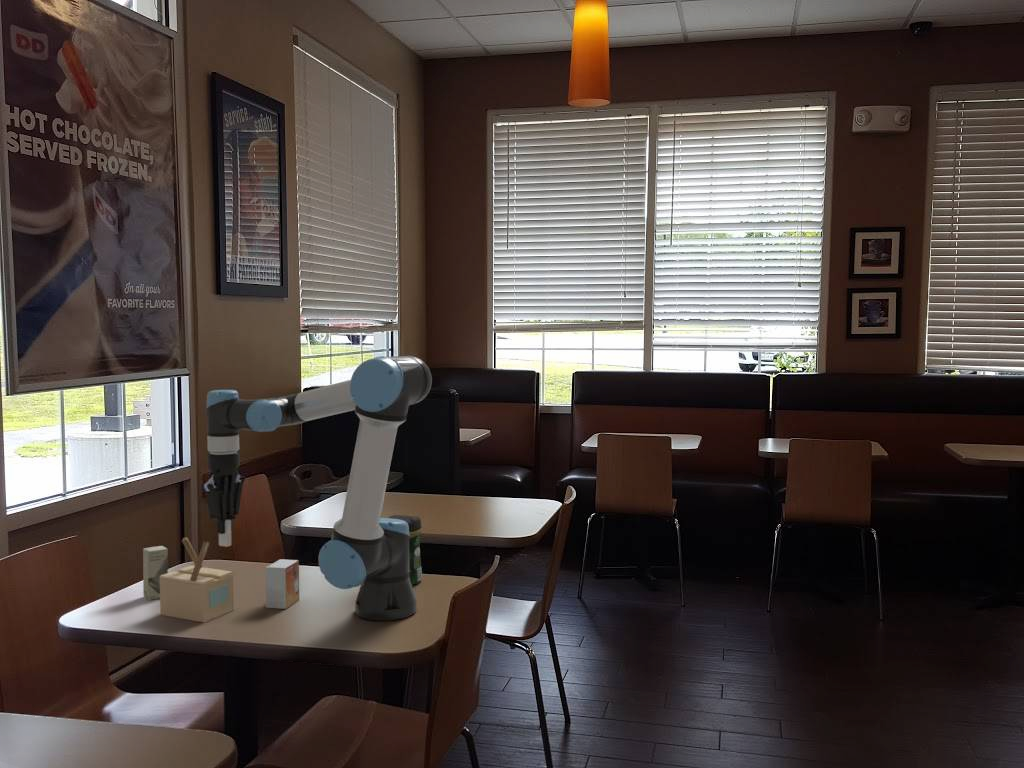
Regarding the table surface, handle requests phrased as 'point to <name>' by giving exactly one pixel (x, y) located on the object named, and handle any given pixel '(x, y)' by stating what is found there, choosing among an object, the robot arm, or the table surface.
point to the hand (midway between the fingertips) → (225, 545)
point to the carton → (196, 598)
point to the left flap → (194, 577)
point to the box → (154, 570)
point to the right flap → (203, 571)
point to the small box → (282, 583)
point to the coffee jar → (413, 546)
